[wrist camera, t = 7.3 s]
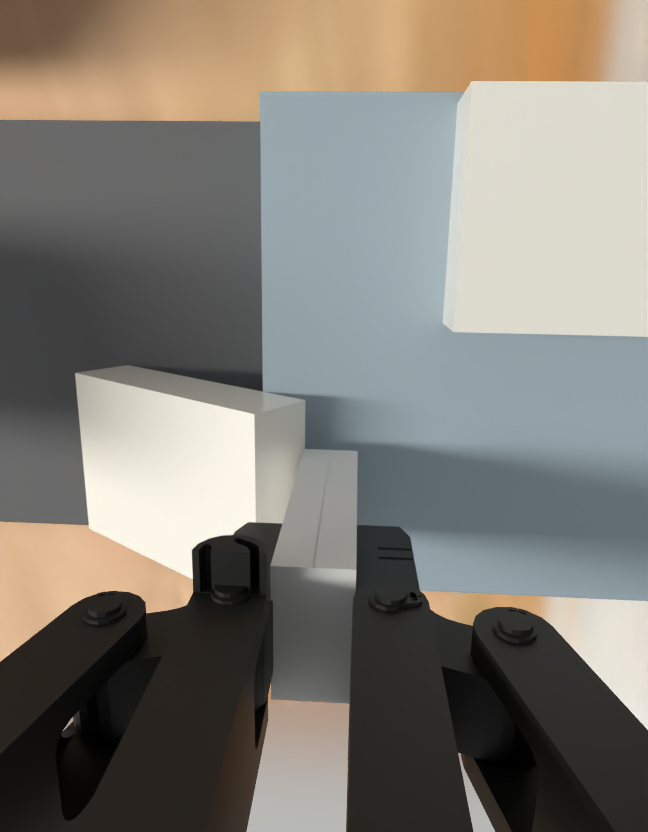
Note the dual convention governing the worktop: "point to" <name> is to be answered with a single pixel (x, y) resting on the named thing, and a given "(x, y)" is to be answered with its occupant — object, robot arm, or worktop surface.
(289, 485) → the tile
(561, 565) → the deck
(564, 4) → the worktop surface
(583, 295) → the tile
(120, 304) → the mat
